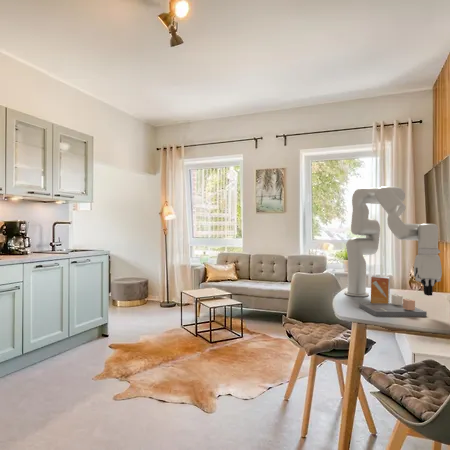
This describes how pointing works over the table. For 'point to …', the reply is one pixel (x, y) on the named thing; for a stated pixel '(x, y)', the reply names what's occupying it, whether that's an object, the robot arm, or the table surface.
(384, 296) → the small box
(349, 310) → the table surface
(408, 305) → the block
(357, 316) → the table surface
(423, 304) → the table surface
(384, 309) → the plate
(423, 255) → the robot arm
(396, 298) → the cream fader
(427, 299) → the table surface
